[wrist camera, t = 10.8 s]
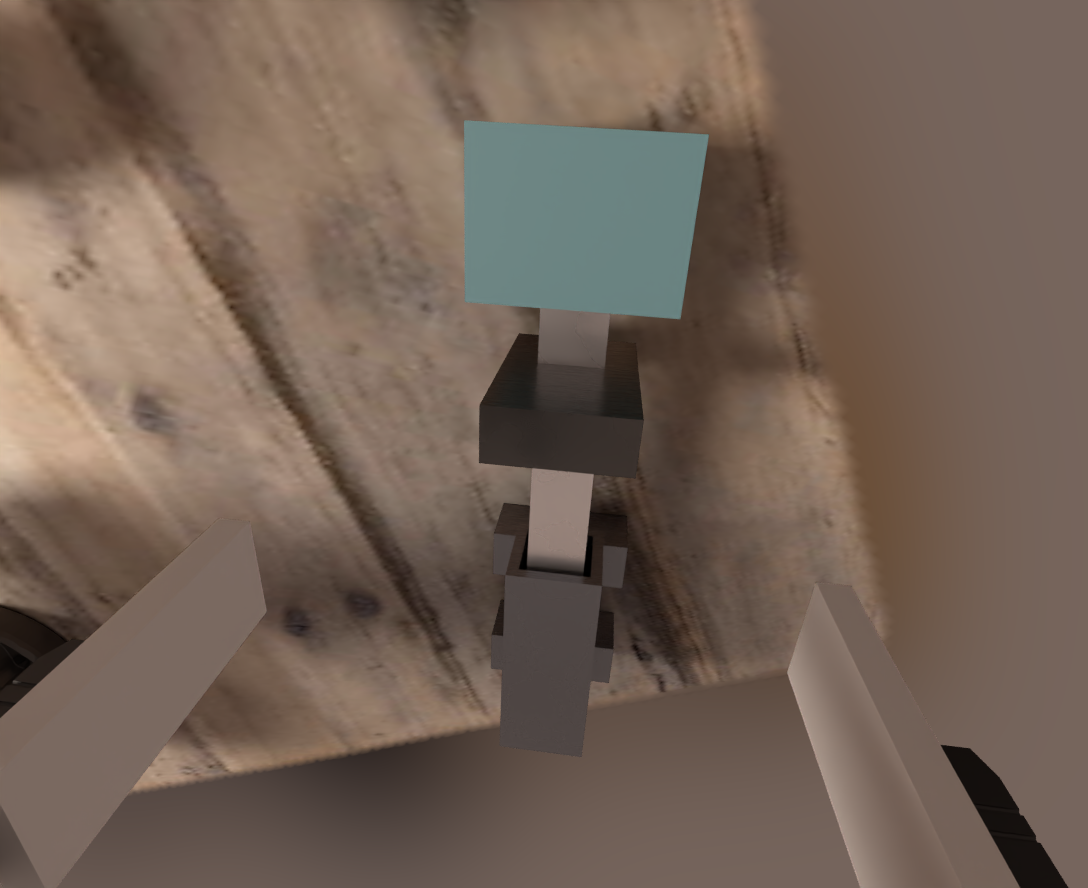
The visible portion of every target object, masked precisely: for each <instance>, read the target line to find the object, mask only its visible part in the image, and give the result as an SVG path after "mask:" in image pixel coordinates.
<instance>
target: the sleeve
mask: <svg viewBox="0 0 1088 888" xmlns="http://www.w3.org/2000/svg"><path fill="white" fill-rule="evenodd" d="M529 518H530V506H524V505H514V504H505V503H504V504H503V507H502V510H501V513H500V516H499V520H498V523H497V526H496V529H495V532H494V555H493V574H499V575H505V599H504V600H501V601H500V605H499V609H498V613H497V617H496V620H495V624H494V628H493V632H492V647H491V668H493V669H501V670H502V691H501V721H500V746H504V747H511V748H518V749H526V750H534V751H541V752H548V753H556V754H563V755H571V756H578V757H581V755H582V747H583V739H584V731H585V722H586V715H587V706H588V698H589V690H590V682H591V681H597V682H605V683H609V677H610V670H611V663H612V656H613V634H614V613H612V612H603V611H599V608H600V600H601V591H602V586H605V587H614V588H622V585H623V578H624V571H625V563H626V556H627V549H628V543H627V516H620V515H610V514H601V513H591V512H590V514H589V524H588V533H587V543H586V553H585V562H584V572H583V576H574V575H565V574H556V573H547V572H538V571H529V570H527V557H528V538H529Z"/></svg>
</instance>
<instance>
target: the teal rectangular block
mask: <svg viewBox="0 0 1088 888" xmlns="http://www.w3.org/2000/svg"><path fill="white" fill-rule="evenodd" d="M708 137H709V134H691V133H674V132H657V131H639V130H622V129H604V128H587V127H569V126H552V125H534V124H517V123H499V122H482V121H464V184H465V302H472V303H484V304H497V305H509V306H522V307H534V308H547V309H559V310H572V311H584V312H597V313H610V314H622V315H635V316H647V317H660V318H672V319H680V318H681V311H682V305H683V298H684V292H685V285H686V279H687V273H688V266H689V260H690V253H691V247H692V240H693V234H694V228H695V221H696V215H697V208H698V202H699V195H700V189H701V182H702V176H703V170H704V163H705V157H706V150H707V144H708Z"/></svg>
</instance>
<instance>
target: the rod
mask: <svg viewBox="0 0 1088 888" xmlns="http://www.w3.org/2000/svg"><path fill="white" fill-rule="evenodd" d="M609 321H610V313H597V312H584V311H572V310H559V309H547V308H540V326H539V335H532V334H520V333H519V334H518V336H517V338H516V340H515V342H514V344H513V345H512V347H511V349H510V351H509V353H508V354H507V356H506V358H505V360H504V362H503V364H502V365H501V367H500V369H499V371H498V373H497V374H496V376H495V378H494V380H493V382H492V384H491V385H490V387H489V389H488V391H487V393H486V394H485V396H484V398H483V400H482V402H481V404H480V416H479V463H485V464H495V465H505V466H515V467H525V468H532V480H531V499H530V518H529V538H528V557H527V570H529V571H538V572H547V573H556V574H565V575H574V576H583V572H584V562H585V553H586V543H587V533H588V524H589V514H590V504H591V495H592V485H593V475H594V474H595V475H605V476H615V477H626V478H636V472H637V464H638V457H639V450H640V443H641V436H642V428H643V421H644V419H643V410H642V400H641V391H640V381H639V372H638V362H637V353H636V343H628V342H616V341H607V340H608V330H609Z"/></svg>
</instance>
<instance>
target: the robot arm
mask: <svg viewBox="0 0 1088 888" xmlns="http://www.w3.org/2000/svg"><path fill="white" fill-rule="evenodd" d="M266 612H267V609H266V604H265V598H264V593H263V588H262V583H261V577H260V572H259V567H258V561H257V556H256V551H255V545H254V540H253V535H252V529H251V524H250V521H242V520H232V519H223V518H219V519H218V520H217V521H215V522H214V523H213V524H212V525H211V526H210V527H209V528H208V529H207V530H206V531H205V532H203V533H202V534H201V535H200V536H199V537H198V538H197V539H196V540H195V541H194V542H193V543H191V544H190V545H189V546H188V547H187V548H186V549H185V550H184V551H183V552H182V553H180V554H179V555H178V556H177V557H176V558H175V559H174V560H173V561H172V562H171V563H170V564H168V565H167V566H166V567H165V568H164V569H163V570H162V571H161V572H160V573H159V574H157V575H156V576H155V577H154V578H153V579H152V580H151V581H150V582H149V583H148V584H147V585H145V586H144V587H143V588H142V589H141V590H140V591H139V592H138V593H137V594H136V595H135V596H133V597H132V598H131V599H130V600H129V601H128V602H127V603H126V604H125V605H124V606H122V607H121V608H120V609H119V610H118V611H117V612H116V613H115V614H114V615H113V616H112V617H110V618H109V619H108V620H107V621H106V622H105V623H104V624H103V625H102V626H101V627H100V628H98V629H97V630H96V631H95V632H94V633H93V634H92V635H91V636H90V637H89V638H87V639H86V640H85V641H83V640H75V639H71V640H70V641H68V642H65V641H64V640H63V639H62V638H60V637H59V636H58V635H56V634H55V633H54V632H52V631H51V630H49V629H48V628H46V627H45V626H43V625H41V624H39V623H38V622H36V621H34V620H32V619H30V618H28V617H26V616H24V615H21V614H19V613H16V612H14V611H11V610H8V609H4V608H1V607H0V883H1V885H2V886H3V888H57V886H58V885H59V884H60V882H61V881H62V880H63V878H64V877H65V876H66V874H67V873H68V872H69V870H70V869H71V868H72V866H73V865H74V864H75V863H76V861H77V860H78V859H79V857H80V856H81V855H82V853H83V852H84V851H85V850H86V848H87V847H88V845H89V844H90V843H91V842H92V840H93V839H94V838H95V836H96V835H97V833H98V832H99V831H100V830H101V829H102V827H103V826H104V825H105V823H106V822H107V820H108V819H109V818H110V817H111V815H112V814H113V813H114V811H115V810H116V809H117V808H118V806H119V805H120V804H121V802H122V801H123V799H124V798H125V797H126V796H127V794H128V793H129V792H130V791H131V789H132V788H133V787H134V785H135V784H136V783H137V781H138V780H139V779H140V777H141V776H142V775H143V773H144V772H145V771H146V770H147V768H148V767H149V766H150V764H151V763H152V762H153V760H154V759H155V758H156V756H157V755H158V754H159V752H160V751H161V750H162V749H163V747H164V746H165V745H166V743H167V742H168V741H169V739H170V738H171V737H172V735H173V734H174V733H175V732H176V730H177V729H178V728H179V726H180V725H181V724H182V722H183V721H184V720H185V718H186V717H187V716H188V714H189V713H190V712H191V711H192V709H193V708H194V707H195V705H196V704H197V703H198V701H199V700H200V699H201V697H202V696H203V695H204V693H205V692H206V691H207V690H208V688H209V687H210V686H211V684H212V683H213V682H214V680H215V679H216V678H217V676H218V675H219V674H220V673H221V671H222V670H223V669H224V667H225V666H226V665H227V663H228V662H229V661H230V659H231V658H232V657H233V655H234V654H235V653H236V652H237V650H238V649H239V648H240V646H241V645H242V644H243V642H244V641H245V640H246V638H247V637H248V636H249V635H250V633H251V632H252V631H253V629H254V628H255V627H256V625H257V624H258V623H259V621H260V620H261V619H262V617H263V616H264V615H265V614H266ZM787 674H788V677H789V679H790V682H791V685H792V688H793V691H794V694H795V697H796V700H797V703H798V706H799V709H800V711H801V714H802V718H803V721H804V724H805V726H806V729H807V732H808V735H809V738H810V741H811V744H812V747H813V750H814V753H815V756H816V759H817V762H818V765H819V768H820V771H821V774H822V777H823V779H824V782H825V785H826V788H827V791H828V794H829V797H830V800H831V803H832V806H833V809H834V812H835V815H836V818H837V821H838V824H839V826H840V829H841V832H842V835H843V838H844V841H845V844H846V847H847V850H848V853H849V856H850V859H851V862H852V865H853V868H854V871H855V873H856V877H857V879H858V882H859V885H860V888H1068V886H1067V885H1066V884H1065V882H1064V880H1063V878H1062V877H1061V875H1060V874H1059V872H1058V870H1057V869H1056V867H1055V866H1054V864H1053V863H1052V861H1051V859H1050V858H1049V856H1048V854H1047V853H1046V851H1045V850H1044V848H1043V847H1042V845H1041V843H1038V842H1037V841H1036V835H1035V834H1034V832H1033V830H1032V829H1031V827H1030V826H1029V824H1028V822H1027V821H1026V819H1025V818H1024V816H1022V815H1020V814H1019V808H1018V807H1017V805H1016V803H1015V802H1014V801H1013V799H1012V797H1011V796H1010V794H1009V792H1008V790H1007V789H1006V787H1005V786H1004V784H1003V782H1002V781H1001V780H1000V778H999V777H998V776H997V775H996V774H995V773H994V772H993V771H992V770H991V769H990V768H989V767H988V766H987V765H986V764H985V763H984V762H983V761H982V760H981V759H980V758H979V757H978V756H977V755H976V754H975V753H974V752H973V751H972V750H971V749H970V748H962V747H954V746H946V745H940V744H939V742H938V740H937V738H936V736H935V735H934V733H933V731H932V729H931V727H930V726H929V724H928V722H927V720H926V718H925V717H924V715H923V713H922V711H921V710H920V708H919V706H918V704H917V703H916V701H915V699H914V697H913V695H912V693H911V692H910V690H909V688H908V686H907V685H906V683H905V681H904V679H903V678H902V676H901V674H900V672H899V670H898V669H897V667H896V665H895V663H894V661H893V659H892V658H891V656H890V654H889V653H888V651H887V649H886V647H885V645H884V643H883V642H882V640H881V638H880V636H879V634H878V633H877V631H876V629H875V627H874V626H873V624H872V622H871V620H870V618H869V617H868V615H867V613H866V611H865V609H864V608H863V606H862V604H861V602H860V600H859V599H858V597H857V595H856V593H855V592H854V590H853V588H852V586H849V585H840V584H831V583H821V582H816V583H815V586H814V589H813V592H812V596H811V599H810V602H809V605H808V608H807V612H806V615H805V618H804V621H803V624H802V627H801V631H800V634H799V637H798V640H797V643H796V646H795V650H794V653H793V656H792V659H791V662H790V665H789V669H788V672H787Z"/></svg>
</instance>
